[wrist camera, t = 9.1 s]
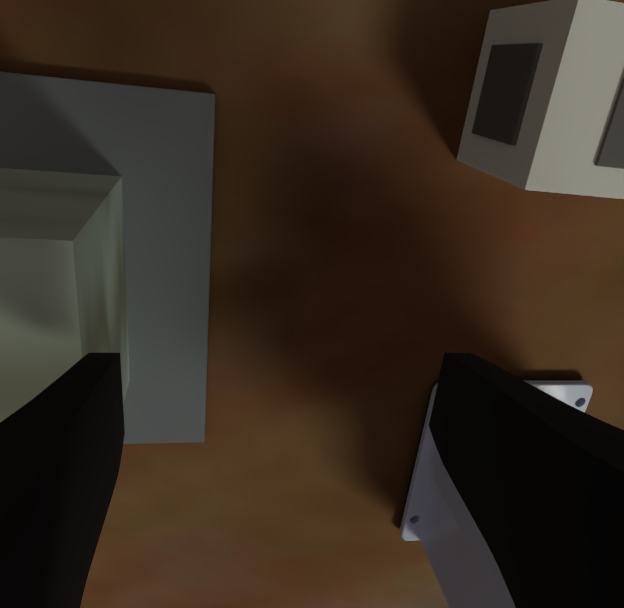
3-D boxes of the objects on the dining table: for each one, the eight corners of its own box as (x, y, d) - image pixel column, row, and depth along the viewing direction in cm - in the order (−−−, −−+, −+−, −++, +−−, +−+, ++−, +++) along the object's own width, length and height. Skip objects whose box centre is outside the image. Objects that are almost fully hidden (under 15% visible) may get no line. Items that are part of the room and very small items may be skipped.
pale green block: (129, 380, 21) (94, 516, 15) (19, 380, 20) (-67, 524, 14) (122, 176, 18) (72, 240, 12) (-10, 167, 17) (-139, 230, 11)
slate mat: (204, 436, 23) (204, 441, 23) (-51, 441, 21) (-55, 447, 21) (215, 93, 18) (215, 94, 17) (-131, 57, 16) (-139, 57, 15)
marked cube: (572, 172, 21) (671, 204, 16) (451, 159, 20) (522, 190, 15) (616, 31, 19) (743, 23, 14) (485, 9, 18) (577, -6, 13)
